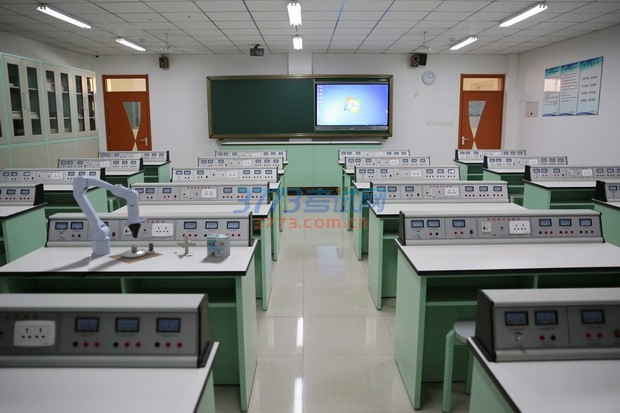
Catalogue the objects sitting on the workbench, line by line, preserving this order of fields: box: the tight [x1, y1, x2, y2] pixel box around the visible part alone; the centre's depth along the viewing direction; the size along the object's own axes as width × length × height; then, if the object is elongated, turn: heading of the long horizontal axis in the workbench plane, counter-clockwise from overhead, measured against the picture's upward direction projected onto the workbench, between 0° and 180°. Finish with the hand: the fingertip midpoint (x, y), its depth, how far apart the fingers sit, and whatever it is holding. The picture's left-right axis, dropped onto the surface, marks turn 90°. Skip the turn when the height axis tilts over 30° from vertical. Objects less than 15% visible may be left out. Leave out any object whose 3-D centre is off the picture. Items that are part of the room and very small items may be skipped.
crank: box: [121, 242, 156, 258], centre depth 234 cm, size 16×12×6 cm
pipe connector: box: [176, 234, 197, 254], centre depth 242 cm, size 10×10×10 cm
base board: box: [108, 248, 164, 265], centre depth 234 cm, size 20×20×1 cm
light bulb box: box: [206, 233, 231, 258], centre depth 238 cm, size 11×7×11 cm, turn 76°
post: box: [130, 244, 138, 253], centre depth 233 cm, size 3×3×3 cm
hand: (135, 237), depth 239 cm, fingers closed
